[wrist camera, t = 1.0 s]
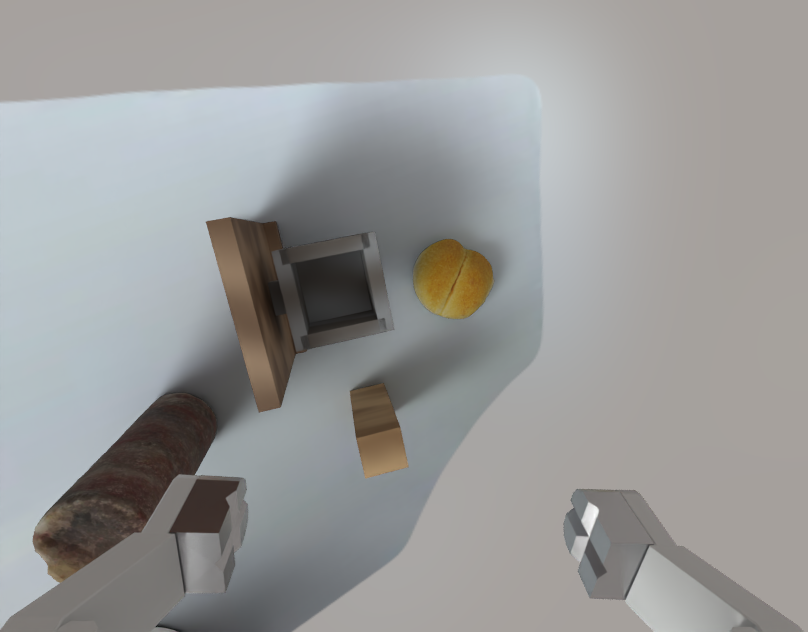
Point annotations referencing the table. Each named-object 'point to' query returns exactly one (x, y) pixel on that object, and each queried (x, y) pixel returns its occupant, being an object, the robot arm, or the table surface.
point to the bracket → (296, 297)
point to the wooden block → (377, 431)
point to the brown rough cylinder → (125, 484)
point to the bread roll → (452, 279)
